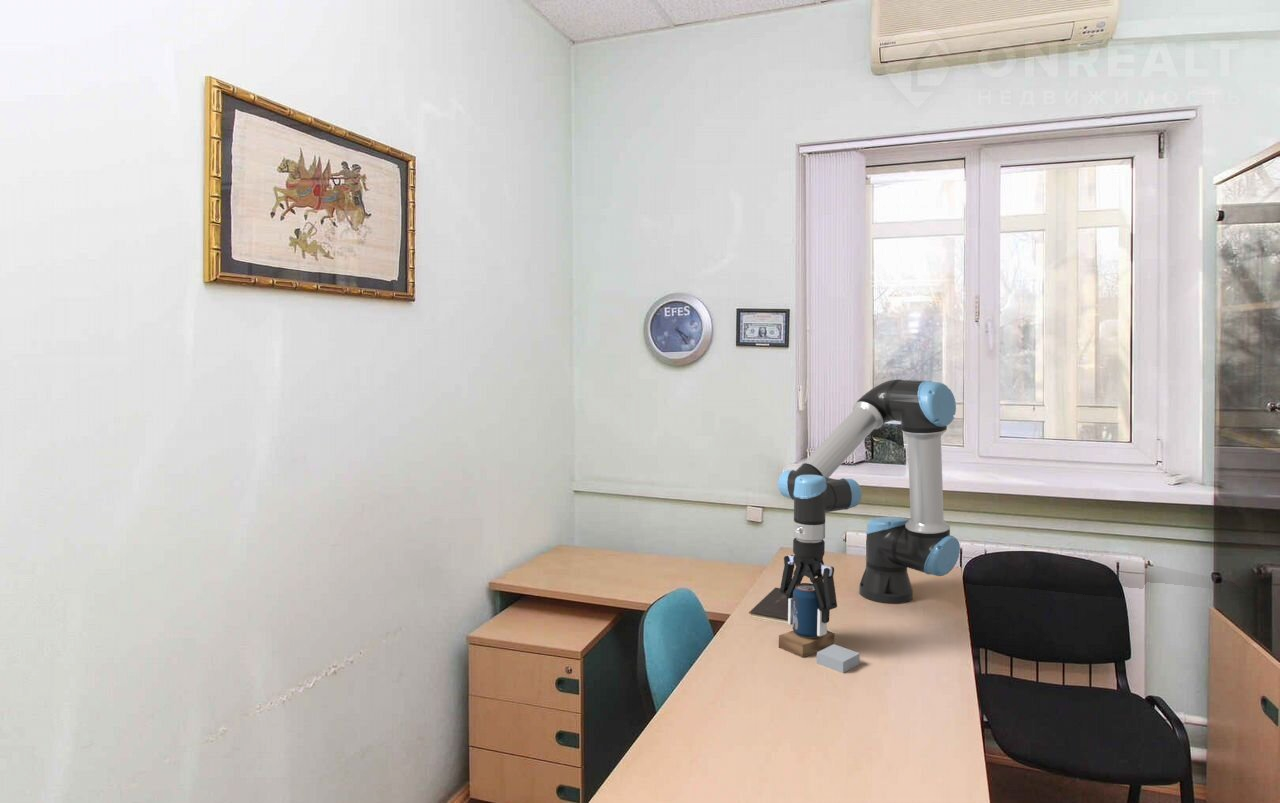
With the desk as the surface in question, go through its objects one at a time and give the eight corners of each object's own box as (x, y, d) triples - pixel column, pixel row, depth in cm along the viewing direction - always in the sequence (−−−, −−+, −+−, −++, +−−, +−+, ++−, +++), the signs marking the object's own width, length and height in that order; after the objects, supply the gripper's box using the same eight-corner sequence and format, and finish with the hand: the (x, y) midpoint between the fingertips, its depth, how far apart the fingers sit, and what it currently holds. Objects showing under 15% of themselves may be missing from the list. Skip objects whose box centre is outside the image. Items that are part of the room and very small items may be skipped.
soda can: (826, 633, 184) (827, 586, 183) (812, 641, 179) (812, 593, 178) (801, 626, 189) (802, 580, 188) (787, 634, 184) (787, 586, 183)
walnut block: (810, 635, 191) (810, 624, 190) (834, 645, 185) (834, 633, 184) (778, 647, 183) (778, 635, 183) (802, 657, 177) (802, 645, 177)
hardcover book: (748, 620, 202) (748, 612, 202) (775, 594, 223) (775, 587, 222) (806, 631, 195) (806, 622, 195) (828, 603, 215) (828, 596, 215)
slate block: (833, 656, 179) (833, 644, 179) (859, 665, 174) (859, 653, 174) (816, 664, 174) (817, 652, 174) (842, 674, 169) (843, 662, 169)
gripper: (765, 532, 188) (764, 619, 190) (834, 551, 171) (832, 646, 173) (785, 527, 192) (784, 612, 194) (854, 545, 176) (852, 638, 178)
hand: (806, 628), depth 184 cm, fingers open, 8 cm apart
